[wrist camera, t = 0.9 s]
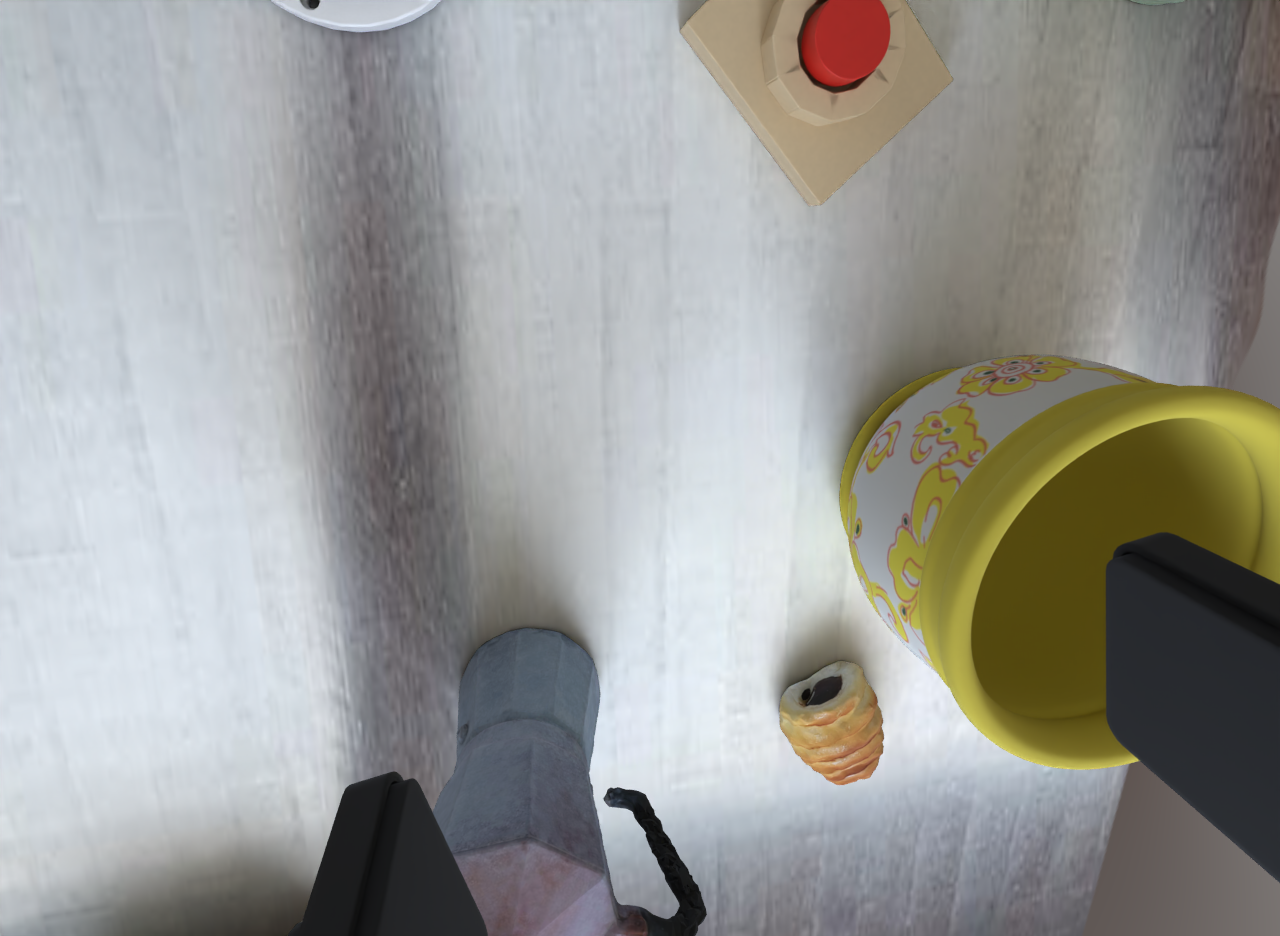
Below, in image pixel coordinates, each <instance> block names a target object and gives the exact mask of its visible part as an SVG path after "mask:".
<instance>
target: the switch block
mask: <svg viewBox="0 0 1280 936" xmlns="http://www.w3.org/2000/svg"><path fill="white" fill-rule="evenodd" d="M827 1H828V0H707V1H706V2H705V3H704V4H703V5H702V6H701V7H700V8H699V9H698V10H697V11H696V12H695V13H694V14H693V15H692V16H691V17H690V18H689V19H688V20H687V21H686V23H685V24H684V25H683V27H682V28H681V30H680V33H681V34H682V35H683V37H684V38H685V40H686V41H687V42H688V44H689V45H690V46H691V48H692V49H693V50H694V52H695V53H696V54H697V56H698V57H699V58H700V60H701V61H702V62H703V64H704V65H705V67H706V68H707V69H708V71H709V72H710V73H711V75H712V76H713V77H714V79H715V80H716V81H717V83H718V84H719V85H720V87H721V88H722V89H723V91H724V92H725V93H726V95H727V96H728V98H729V99H730V100H731V102H732V103H733V104H734V106H735V107H736V108H737V110H738V111H739V112H740V114H741V115H742V116H743V118H744V119H745V120H746V122H747V123H748V125H749V126H750V127H751V129H752V130H753V131H754V133H755V134H756V135H757V137H758V138H759V139H760V141H761V142H762V143H763V145H764V146H765V147H766V149H767V150H768V152H769V153H770V154H771V156H772V157H773V158H774V160H775V161H776V162H777V164H778V165H779V166H780V168H781V169H782V170H783V172H784V173H785V174H786V176H787V177H788V178H789V180H790V181H791V183H792V184H793V185H794V187H795V188H796V189H797V191H798V192H799V193H800V195H801V196H802V197H803V199H804V200H805V201H806V203H807V204H808V205H809V206H815V205H822V204H823V203H824V202H825V201H826V200H827V199H828V198H829V197H830V196H831V195H832V194H833V193H834V192H835V191H836V190H838V189H839V188H840V187H841V186H842V185H843V184H844V183H845V182H846V181H847V180H848V179H849V178H850V177H851V176H852V175H853V174H854V173H856V172H857V171H858V170H859V169H860V168H861V167H862V166H863V165H864V164H865V163H866V162H867V161H868V160H869V159H870V158H871V157H873V156H874V155H875V154H876V153H877V152H878V151H879V150H880V149H881V148H882V147H883V146H884V145H885V144H886V143H887V142H888V141H889V140H891V139H892V138H893V137H894V136H895V135H896V134H897V133H898V132H899V131H900V130H901V129H902V128H903V127H904V126H905V125H906V124H907V123H909V122H910V121H911V120H912V119H913V118H914V117H915V116H916V115H917V114H918V113H919V112H920V111H921V110H922V109H923V108H924V107H925V106H927V105H928V104H929V103H930V102H931V101H932V100H933V99H934V98H935V97H936V96H937V95H938V94H939V93H940V92H941V91H942V90H943V89H945V88H946V87H947V86H948V85H949V84H950V83H951V82H952V81H953V78H952V76H951V74H950V73H949V71H948V69H947V68H946V66H945V64H944V63H943V61H942V60H941V58H940V56H939V55H938V53H937V51H936V50H935V48H934V46H933V45H932V43H931V41H930V40H929V38H928V37H927V35H926V33H925V32H924V30H923V28H922V27H921V25H920V23H919V22H918V20H917V18H916V17H915V15H914V14H913V12H912V10H911V9H910V7H909V5H908V4H907V2H906V0H880V1H881V2H882V4H883V5H884V7H885V9H886V11H887V13H888V16H889V20H890V31H891V33H890V41H889V45H888V49H887V51H886V54H885V56H884V58H883V60H882V61H881V63H880V64H879V65H878V66H877V67H876V68H875V69H874V70H873V71H872V72H871V73H869V74H868V75H866V76H864V77H862V78H860V79H858V80H856V81H854V82H851V83H849V84H847V85H844V86H839V87H832V86H827V85H824V84H822V83H820V82H818V81H817V80H816V79H815V78H814V77H813V76H812V75H811V74H810V73H809V71H808V70H807V68H806V66H805V63H804V60H803V56H802V49H801V43H802V35H803V31H804V28H805V26H806V23H807V21H808V20H809V18H810V17H811V15H812V14H813V13H814V12H815V11H816V10H817V9H818V8H819V7H820V6H821V5H823V4H824V3H825V2H827Z"/></svg>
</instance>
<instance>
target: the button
mask: <svg viewBox="0 0 1280 936" xmlns="http://www.w3.org/2000/svg"><path fill="white" fill-rule="evenodd" d="M890 33H891V31H890V20H889V16H888V13H887V11H886V9H885V7H884V5H883V4H882V2H881V1H880V0H828V1H827V2H825V3H824V4H823V5H821V6H820V7H819V8H818V9H817V10H816V11H815V12H814V13H813V14H812V15H811V17H810V18H809V20H808V21H807V23H806V26H805V28H804V31H803V35H802V43H801V49H802V56H803V60H804V63H805V66H806V68H807V70H808V71H809V73H810V74H811V75H812V76H813V77H814V78H815V79H816V80H817V81H818V82H820V83H822V84H824V85H827V86H832V87H839V86H844V85H847V84H849V83H851V82H854V81H856V80H858V79H860V78H862V77H864V76H866V75H868V74H869V73H871V72H872V71H873V70H874V69H875V68H876V67H877V66H878V65H879V64H880V63H881V61H882V60H883V58H884V56H885V54H886V51H887V49H888V45H889V41H890Z"/></svg>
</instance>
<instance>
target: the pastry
mask: <svg viewBox="0 0 1280 936" xmlns="http://www.w3.org/2000/svg"><path fill="white" fill-rule="evenodd" d="M779 712H780V727H781V730H782V732H783V733H784V734H785V736H786V737H787V738H788V740H789V742H790V743H791V745H792V747H793V749H794V751H795V753H796V754H797V755H798V756H800V757H801V759H802V760H803V761H804V762H805V763H806V764H807V765H809V766H811V767H812V769H813V770H814V771H816V772H819V773H821V774H822V775H823V776H824V777H825V778H826V779H827V780H828V781H830V782H833V783H834V784H836V785H845V784H848V783H852V782H856V781H857V780H859V779H867V778H870V777H871V775H872V773H873V771H874V770H875V769H876V767H877V765H878V762H879V757H880V755H881V754H882V753H883V743H882V742H883V740H884V734H883V730H882V727H881V726H882V724H883V718H882V714H881V710H880V708H879V706H878V705H877V697H876V694H875V693H874V691H873V690H872V688H871V686H870V685H869V684H868V682H867V681H866V679H865V677H864V674H863V669H862V668H861V667H860V666H859V665H857V664H855V663H847V662H845V661H838V662H834V663H832V664H830V665H829V666H826V667H824V668H822V669H821V670H820V671H818V672H816V673H815V674H814V675H812V676H811V677H810V678H808V679H807V680H804V681H800V682H798V683H796V684H794V685H791V686H790V687H788V688H787V690H786V691H785V693H784V694H783V696H782V698H781V701H780V707H779Z"/></svg>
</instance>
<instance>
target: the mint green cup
mask: <svg viewBox="0 0 1280 936" xmlns="http://www.w3.org/2000/svg"><path fill="white" fill-rule="evenodd" d="M1130 1H1133V2H1136V3H1139V4H1147V5H1165V4H1170V3H1180V2H1183V1H1185V0H1130Z"/></svg>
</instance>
